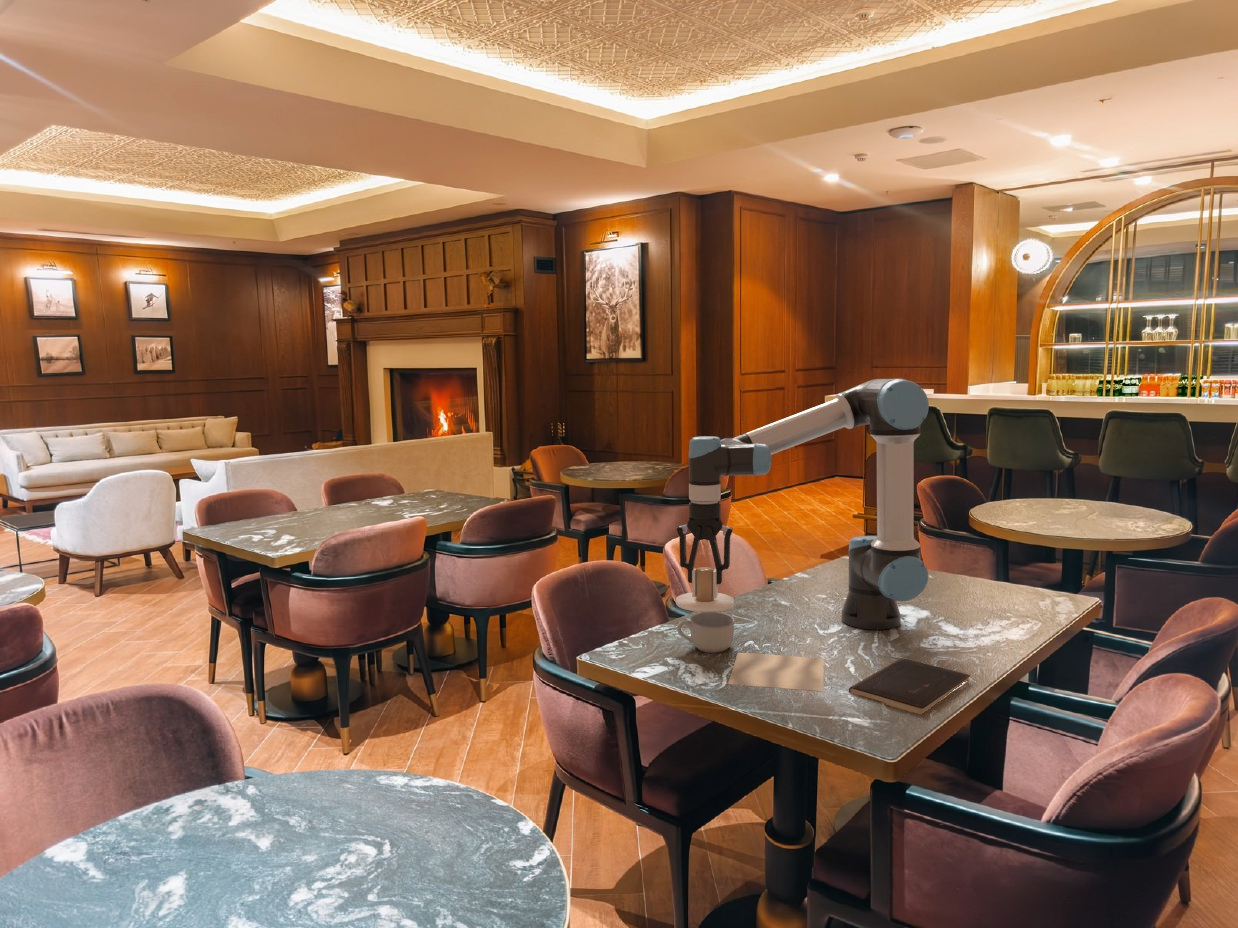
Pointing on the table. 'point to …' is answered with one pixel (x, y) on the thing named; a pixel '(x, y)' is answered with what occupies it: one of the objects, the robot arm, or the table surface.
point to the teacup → (709, 631)
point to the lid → (704, 595)
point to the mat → (778, 671)
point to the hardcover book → (910, 685)
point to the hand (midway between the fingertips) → (705, 596)
